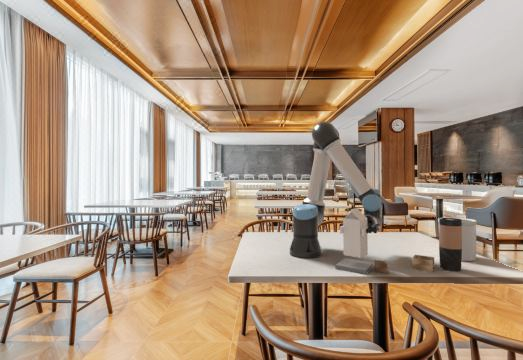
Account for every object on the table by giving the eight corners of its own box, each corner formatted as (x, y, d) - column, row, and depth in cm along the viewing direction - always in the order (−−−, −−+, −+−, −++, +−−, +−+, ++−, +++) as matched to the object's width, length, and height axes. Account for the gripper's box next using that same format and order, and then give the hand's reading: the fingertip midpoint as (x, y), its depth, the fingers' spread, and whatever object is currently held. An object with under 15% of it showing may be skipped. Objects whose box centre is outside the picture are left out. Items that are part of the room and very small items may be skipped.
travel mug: (465, 272, 110) (465, 220, 110) (443, 271, 112) (443, 219, 112) (456, 266, 118) (456, 217, 118) (436, 265, 119) (435, 217, 120)
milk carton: (367, 255, 117) (367, 208, 117) (360, 258, 112) (359, 209, 112) (351, 252, 122) (350, 207, 122) (343, 255, 116) (342, 208, 116)
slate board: (335, 268, 115) (335, 264, 115) (345, 261, 125) (345, 258, 125) (366, 274, 108) (366, 270, 108) (373, 266, 118) (373, 262, 118)
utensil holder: (442, 260, 127) (442, 220, 128) (434, 252, 141) (434, 216, 141) (482, 263, 122) (482, 222, 122) (470, 254, 136) (470, 218, 136)
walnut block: (376, 273, 110) (376, 262, 110) (374, 270, 113) (374, 260, 113) (387, 274, 109) (387, 263, 109) (385, 271, 112) (385, 260, 112)
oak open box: (412, 269, 115) (412, 258, 115) (414, 265, 121) (414, 254, 121) (432, 272, 111) (432, 261, 111) (434, 267, 117) (434, 257, 117)
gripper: (391, 234, 126) (379, 243, 107) (344, 230, 137) (326, 238, 119) (391, 216, 126) (379, 223, 107) (344, 214, 137) (326, 219, 119)
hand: (351, 231), depth 113 cm, fingers closed on milk carton, 8 cm apart
